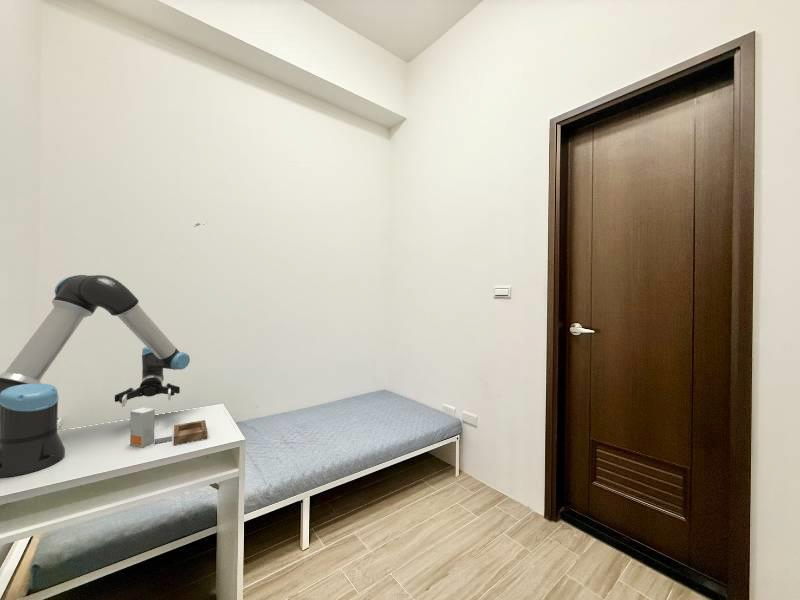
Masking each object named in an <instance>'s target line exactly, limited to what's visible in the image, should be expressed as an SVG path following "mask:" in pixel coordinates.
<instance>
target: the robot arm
mask: <svg viewBox="0 0 800 600" xmlns="http://www.w3.org/2000/svg"><path fill="white" fill-rule="evenodd" d="M54 293H55V296H54V298H53V299H52V300H51V303H52V305H53V308H52V309H51V311H50V312H49V314H48V315H47V316H46V317H45V319H44V320H43V321H42V323H41V324H40V325H39V327H38V328H37V330H36V331H35V332H34V333H33V334H32V336H31V337H30V339H29V340H28V341H27V342H26V343H25V344H24V346H23V347H22V349H21V351H20V352H19V353H18V354H17V356H16V357H15V358H14V359H13V361H12V362H11V363H10V364H9V366H8V367H7V368H6V370H5V371H3V372H2V373H0V478H8V477H9V478H10V477H17V476H20V475H26V474H30V473H33V472H36V471H39V470H43V469H45V468H48V467H51V466H52V465H55V464H57V463H59V462H60V461H62V460H63V459H64V458H65V456H66V447H65V446H64V444H63V442H62V440H61V438H60V435H59V433H58V411H59V409H58V406H59V394H58V388H57V387H56V386H55V385H52V384H48V383H41V380H42V378H43V377H44V375H45V374H46V372H47V371H48V370H49V368H50V367H51V365H52V364H53V363H54V361H55V360H56V358H57V356H59V354H60V353H61V352H62V350H63V348H64V347H65V345H66V344H67V343H68V342H69V340H70V339H71V337H72V335H73V334H74V333H75V331H76V330H77V328H78V327H79V325H80V324H82V322H83V320H84V318H88V317H91V316H93V314H95V312H96V310H97V309H98V307H99V308H102V309H104V310H105V311H107V313H109V314H110V315H111V316H113V317H118V319H120V321H121V322H122V323H124V325H125V326H126V327H127V328H128V329H129V330H130V331H131V332H132V333H133V334H134V335H135V336H136V337H137V339H138V340H140V341H141V342H142V344H143V345H144V347H142V355H141V361H142V362H141V364H142V374H141V377H142V380H141V382H140V385H139V387H137V388H136V389H134V387H129V388H128V389H126V390H124V391H121V392H119V393H117V394H114V403H118V402H119V403H120V404H121V408H123V407H126V405H127V403H128V401H129V400H131V399H135V398H137V397H138V398H140V397H143V396H144V397H148V398H150V397H154V396H156V395H161V394H164V395H167V401H171V400H172V399H171V397H172V396H175V394H177V395H179V394H180V393H181V392H180V391H181V390H180V386H178V385H175V384H171V383H169V382H168V383H166V384H165V385H163V382H164V378H165V377H164V369H167V370H174V371H175V370H179V371H180V370H185V369H186V368H187V367H188V366H189V364H190V360H191V359H190V355H189V354H188V353H186V352H182V351H180V350H179V349H178V348H177V347H176V346H175V345H174V344H173V342H171V340H170V339H169V338H168V337H167V336H166V335H165V334H164V332H163V331H162V330H161V329H160V328H159V327H158V326H157V324H155V322H154V321H153V320H152V319H151V318H150V317H149V315H147V313H146V312H145V311H144V310H143V308H142V307H141V306H140V305H139V304H140V303H139V302H140V301H139V299H138V298H137V297H136V296H135V294H134V293H132V291H130V289H129V288H127V287H126V286H125V285H124V284H123V283H122V282H120V281H119V280H118V279H115V278H113V277H111V276H109V275H103V274H97V275H95V274H94V275H93V274H92V275H86V274H76V275H70V276H67V277H65V278H63V279H60V281H59V282H58V283H57V284H56V286H55V288H54Z"/></svg>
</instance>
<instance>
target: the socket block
mask: <svg viewBox="0 0 800 600" xmlns="http://www.w3.org/2000/svg"><path fill="white" fill-rule="evenodd" d="M206 438H207V439H208V429H207V423H206V419H203V420H197V421H191V422H186V423H180V424H174V426H173V440H172V442H173V445H174V446H177V445H176V444H179V445H183V444H182V443H184V444H188V443H187V442H189V443H193V442H192V441H194V442H198V441H197V440H199V441H202V440H201V439H204V440H207V439H206Z"/></svg>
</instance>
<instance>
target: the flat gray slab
mask: <svg viewBox="0 0 800 600" xmlns="http://www.w3.org/2000/svg"><path fill="white" fill-rule="evenodd" d="M167 441H169V442H173V436H171V435H170V436H165V437H160V438H154V443H153V444H154V445H159V444H162V443H163V442H164V443H168V442H167ZM158 443H159V444H158Z"/></svg>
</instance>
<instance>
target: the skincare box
mask: <svg viewBox="0 0 800 600" xmlns="http://www.w3.org/2000/svg"><path fill="white" fill-rule="evenodd" d="M129 416H130V418H129V419H130V427H129V428H130V430H129V433H130V434H129V445H130V446H134V447H139V448H142V449H144V447H147V446H149V445H152V444H154V443H155V416H156V415H155V409H154V408H149V407H142V406H141V407H140V408H136V409H132V410H130V415H129Z"/></svg>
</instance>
